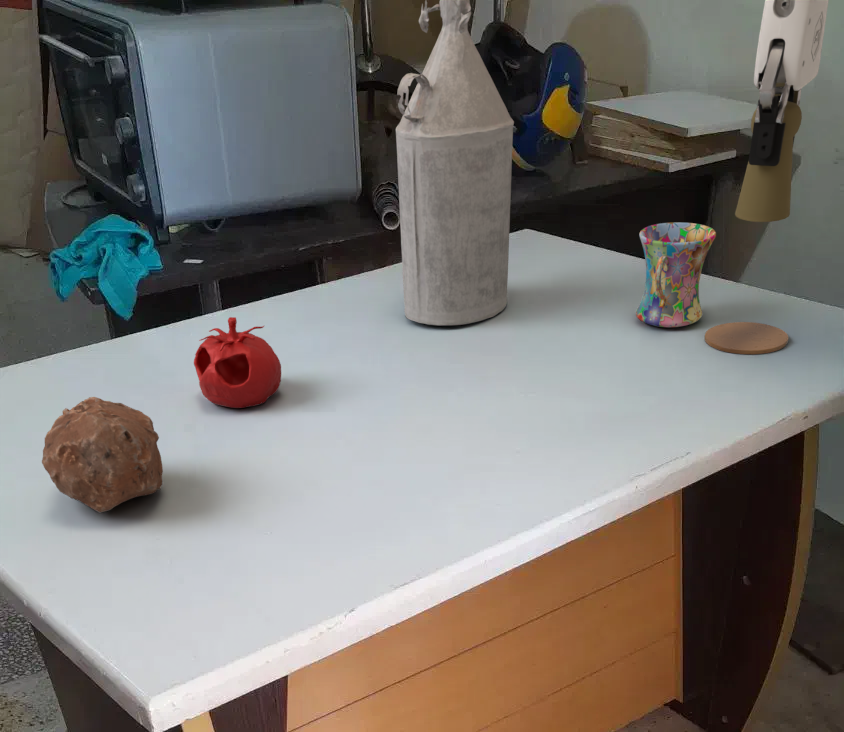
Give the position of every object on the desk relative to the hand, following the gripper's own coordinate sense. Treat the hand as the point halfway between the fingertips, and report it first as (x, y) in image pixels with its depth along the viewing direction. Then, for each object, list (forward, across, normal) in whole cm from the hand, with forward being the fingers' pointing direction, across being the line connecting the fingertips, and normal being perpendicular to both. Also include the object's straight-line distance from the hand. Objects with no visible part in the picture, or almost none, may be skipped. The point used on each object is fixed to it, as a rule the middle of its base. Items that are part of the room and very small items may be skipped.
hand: (770, 156), depth 112 cm
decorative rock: (+20, -63, +46) cm, 81 cm away
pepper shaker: (+6, 0, 0) cm, 6 cm away
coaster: (+20, +1, 0) cm, 20 cm away
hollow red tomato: (+20, -38, +49) cm, 65 cm away
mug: (+20, +3, +11) cm, 23 cm away
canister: (+20, -2, +39) cm, 44 cm away
